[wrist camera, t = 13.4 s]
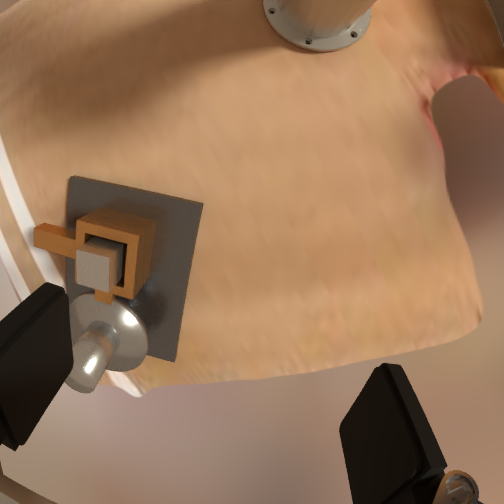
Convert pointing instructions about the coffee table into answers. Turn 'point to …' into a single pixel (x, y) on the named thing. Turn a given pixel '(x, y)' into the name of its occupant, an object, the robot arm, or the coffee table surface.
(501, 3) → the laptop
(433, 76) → the coffee table surface
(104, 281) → the grey block
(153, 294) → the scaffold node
